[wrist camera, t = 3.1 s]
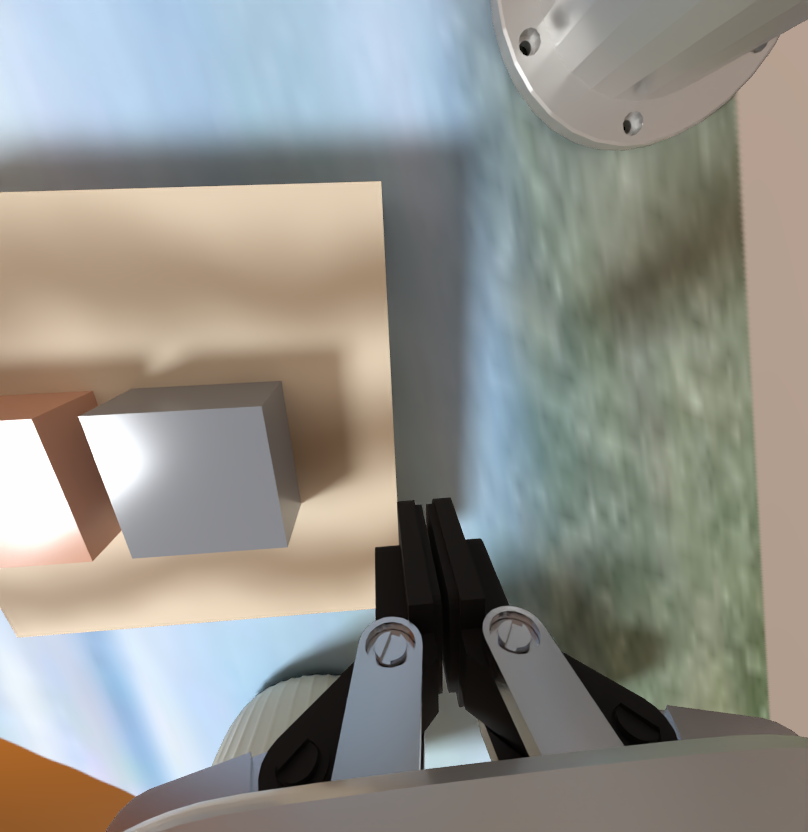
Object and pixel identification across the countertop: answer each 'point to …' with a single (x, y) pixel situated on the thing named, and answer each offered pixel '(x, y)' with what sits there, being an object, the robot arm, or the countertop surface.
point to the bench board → (211, 377)
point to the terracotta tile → (50, 483)
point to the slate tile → (197, 467)
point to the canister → (271, 715)
